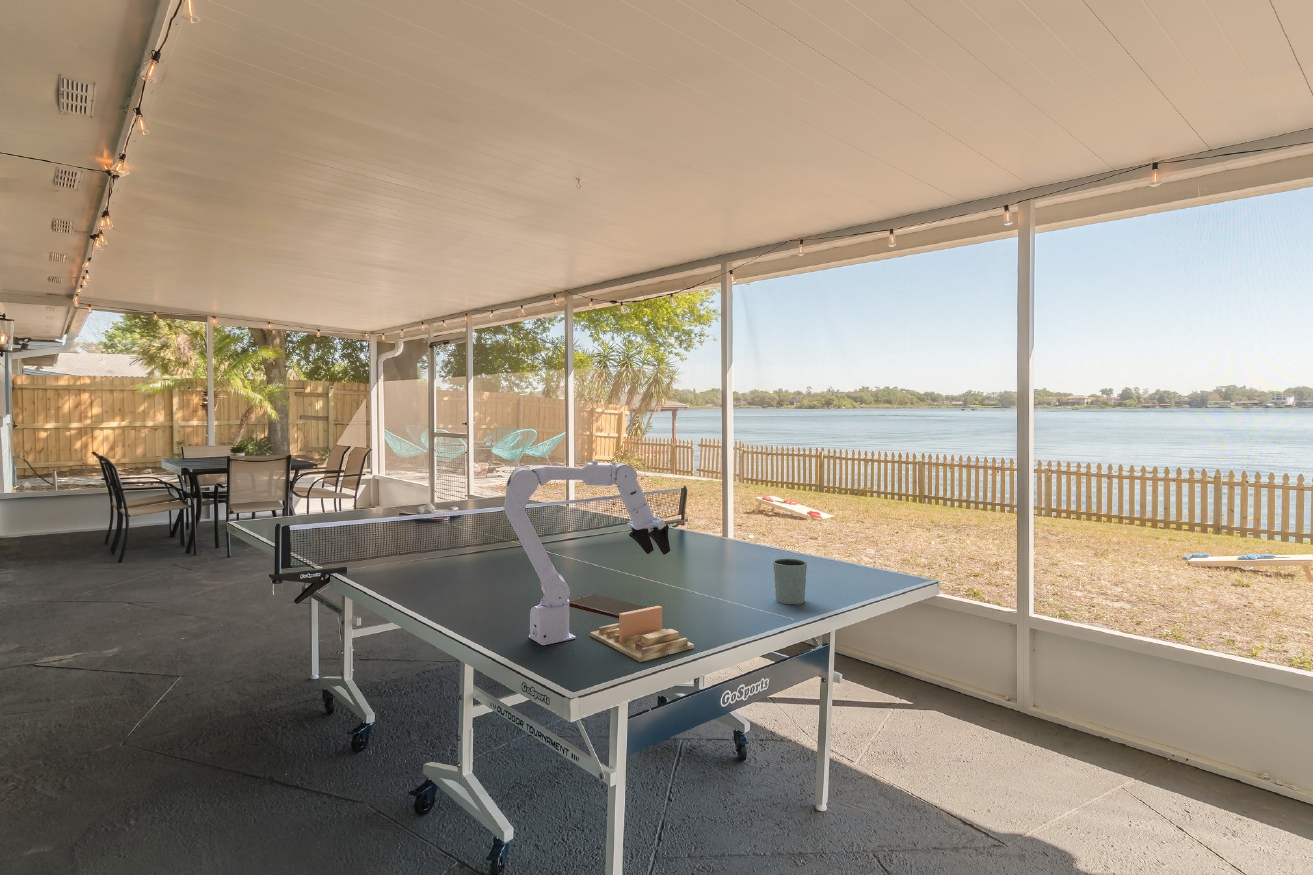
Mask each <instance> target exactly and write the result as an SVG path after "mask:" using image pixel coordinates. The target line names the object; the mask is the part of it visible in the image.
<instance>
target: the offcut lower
mask: <svg viewBox="0 0 1313 875" xmlns="http://www.w3.org/2000/svg"><path fill="white" fill-rule="evenodd" d="M677 639H682V638H681V637H680V636H679V638H676V639H672V640H668V641H664V642H660V643H656V644H651V645H647V644H645V643H643V642H641V641H640V642H636V643H635V649H637V650H639V651H641V649H642V648H644V647H648V646H652V645H657V644H661V643H665V642H669V641H673V640H677Z"/></svg>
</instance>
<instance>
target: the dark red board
mask: <svg viewBox="0 0 1313 875" xmlns="http://www.w3.org/2000/svg"><path fill="white" fill-rule="evenodd" d="M569 607H575V608H578V609H581V610H586V611H588V612H589V611H590V612H594V613H597V614H600V615H605V616H609V617H613V618H618V619H619V613H624V612H629V611H634V610H639V609H644V608H649V607H650V606H645V605H641V604H638V603H633V602H629V601H625V600H619V599H616V598H613V597H608V596H604V595H600V594H596V593H593V594H588V595H585V596H580V597H578V598H574V599H572V600H569Z"/></svg>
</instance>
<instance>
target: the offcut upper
mask: <svg viewBox="0 0 1313 875" xmlns="http://www.w3.org/2000/svg"><path fill="white" fill-rule="evenodd" d="M666 629H667V628H666ZM679 633H680V632H679V631H677V630H676V629H673V628H668V629H667V630H663V631H659V632H654V633H650V634H645V635H641V642H643V643H645V644H647V645H651V644H656V643H660V642H664V641H668V640H672V639H676V638H679V637H680V634H679Z"/></svg>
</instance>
